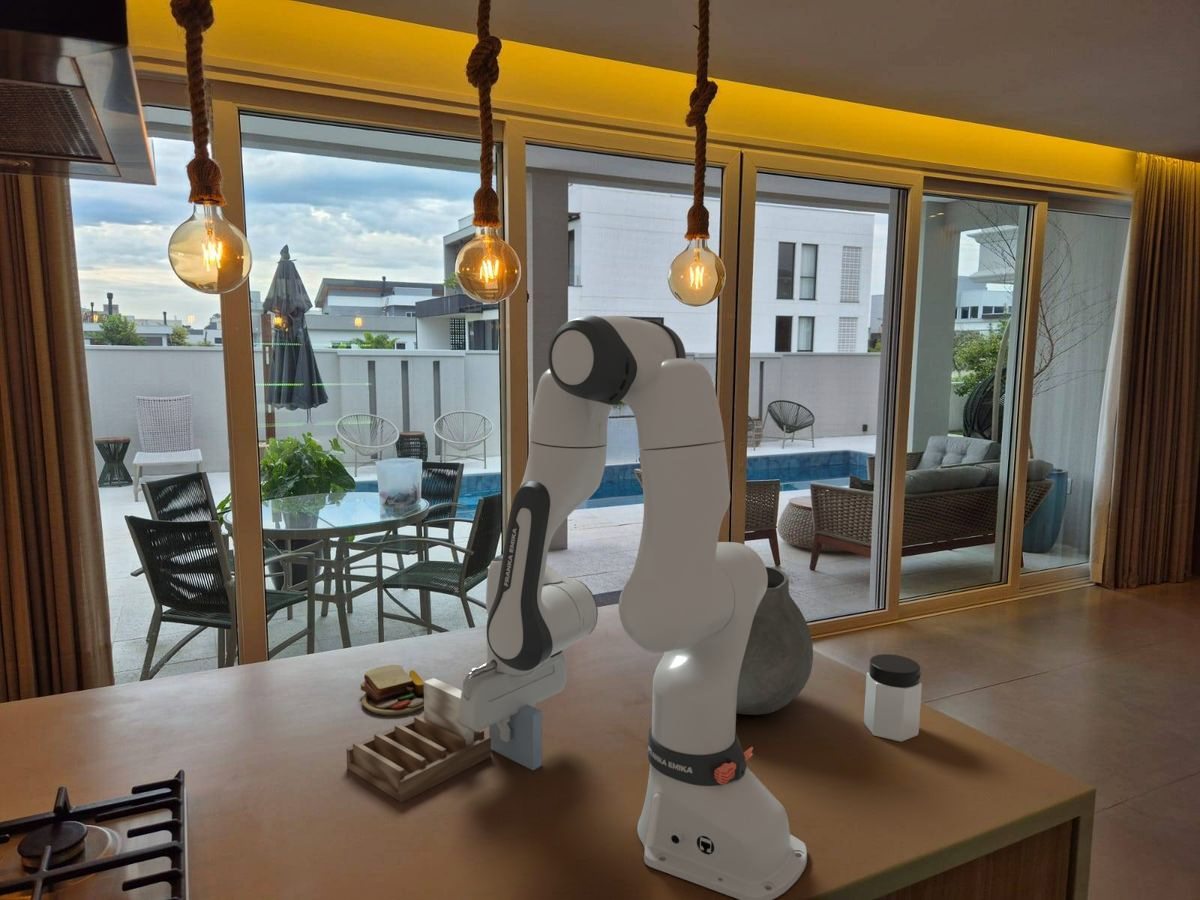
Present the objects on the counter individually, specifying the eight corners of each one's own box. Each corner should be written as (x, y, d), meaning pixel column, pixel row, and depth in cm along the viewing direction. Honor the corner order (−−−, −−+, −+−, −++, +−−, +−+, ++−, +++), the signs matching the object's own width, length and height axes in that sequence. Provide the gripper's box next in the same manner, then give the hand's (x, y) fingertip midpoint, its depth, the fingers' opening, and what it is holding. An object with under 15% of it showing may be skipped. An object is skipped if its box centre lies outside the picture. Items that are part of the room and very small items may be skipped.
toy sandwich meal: (373, 724, 135) (372, 698, 135) (352, 694, 147) (351, 670, 146) (442, 707, 142) (441, 683, 141) (417, 680, 153) (417, 657, 153)
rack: (490, 756, 125) (490, 695, 124) (401, 802, 112) (400, 735, 111) (435, 727, 134) (434, 671, 133) (347, 768, 121) (344, 705, 120)
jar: (925, 742, 131) (930, 674, 129) (877, 742, 131) (881, 674, 129) (903, 717, 140) (907, 652, 138) (858, 717, 140) (861, 652, 138)
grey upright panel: (542, 765, 123) (542, 710, 121) (533, 770, 121) (533, 715, 120) (498, 743, 129) (498, 691, 128) (489, 748, 127) (489, 696, 126)
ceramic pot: (699, 668, 160) (702, 549, 157) (821, 691, 150) (827, 564, 146) (656, 719, 138) (659, 582, 135) (795, 751, 128) (802, 603, 124)
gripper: (477, 678, 113) (478, 768, 115) (573, 639, 128) (572, 718, 130) (449, 666, 117) (450, 753, 119) (545, 629, 132) (545, 707, 134)
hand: (515, 735), depth 125 cm, fingers closed on grey upright panel, 2 cm apart
